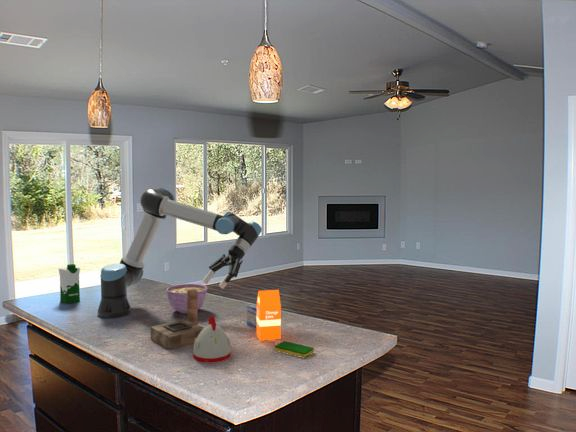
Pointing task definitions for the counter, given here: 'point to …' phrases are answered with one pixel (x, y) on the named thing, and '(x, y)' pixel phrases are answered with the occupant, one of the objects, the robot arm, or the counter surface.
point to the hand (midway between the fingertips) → (212, 284)
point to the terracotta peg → (192, 306)
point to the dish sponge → (294, 349)
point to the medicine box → (252, 315)
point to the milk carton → (69, 284)
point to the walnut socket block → (175, 333)
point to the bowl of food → (185, 296)
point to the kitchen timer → (211, 344)
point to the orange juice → (268, 315)
